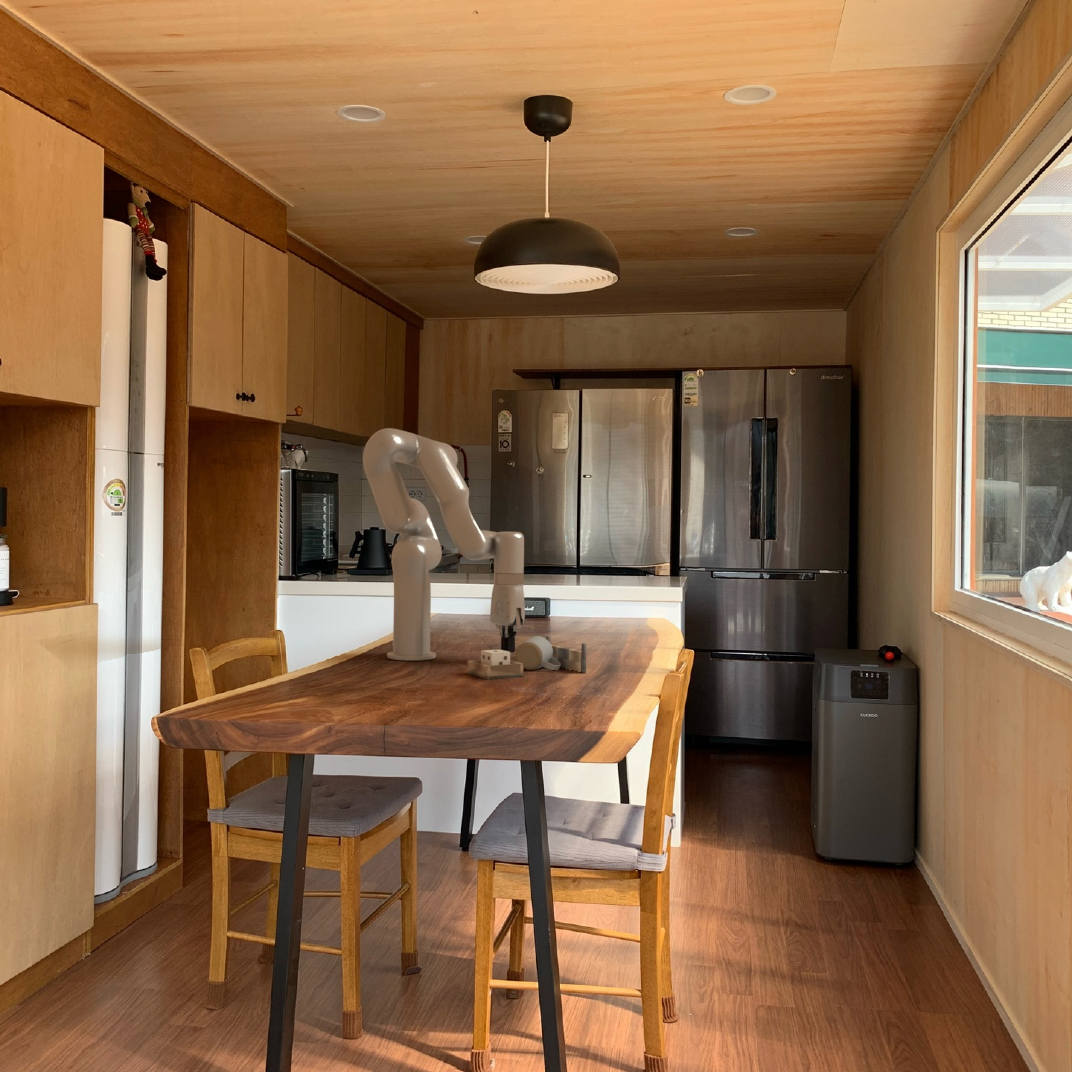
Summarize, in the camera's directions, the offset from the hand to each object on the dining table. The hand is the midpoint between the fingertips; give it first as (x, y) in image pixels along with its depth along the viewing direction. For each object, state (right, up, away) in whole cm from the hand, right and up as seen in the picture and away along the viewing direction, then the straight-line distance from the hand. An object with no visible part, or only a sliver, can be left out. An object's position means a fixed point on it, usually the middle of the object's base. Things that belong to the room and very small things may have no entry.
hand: (507, 652), depth 265 cm
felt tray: (-2, -3, -20) cm, 21 cm away
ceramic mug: (+8, -3, -9) cm, 12 cm away
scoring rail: (+14, -3, -8) cm, 17 cm away
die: (-2, -3, -20) cm, 21 cm away
